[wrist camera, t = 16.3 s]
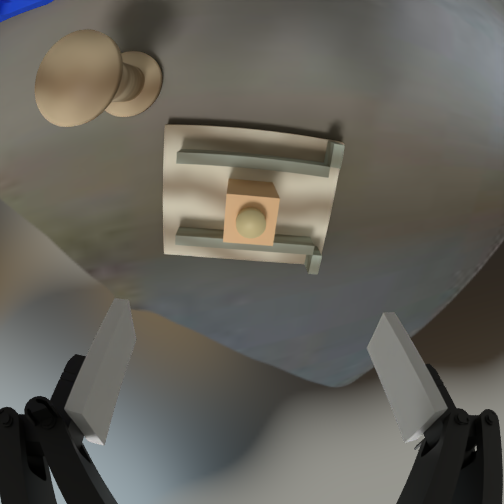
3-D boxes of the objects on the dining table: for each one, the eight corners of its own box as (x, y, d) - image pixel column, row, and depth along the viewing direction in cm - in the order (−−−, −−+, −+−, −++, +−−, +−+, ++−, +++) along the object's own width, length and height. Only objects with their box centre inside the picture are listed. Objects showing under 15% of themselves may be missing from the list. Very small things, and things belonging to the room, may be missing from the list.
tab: (228, 178, 32) (226, 197, 26) (273, 182, 32) (281, 201, 26) (225, 219, 34) (222, 246, 28) (267, 223, 35) (273, 250, 28)
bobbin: (102, 56, 25) (40, 41, 13) (165, 50, 25) (124, 21, 14) (98, 118, 28) (33, 131, 17) (159, 115, 29) (114, 123, 18)
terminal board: (167, 124, 30) (159, 126, 26) (340, 141, 31) (351, 146, 28) (166, 249, 37) (159, 263, 34) (316, 260, 39) (323, 275, 36)
